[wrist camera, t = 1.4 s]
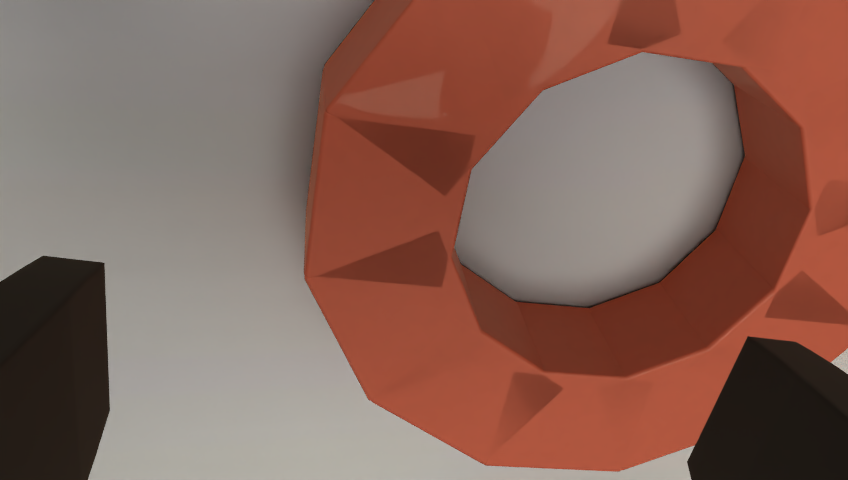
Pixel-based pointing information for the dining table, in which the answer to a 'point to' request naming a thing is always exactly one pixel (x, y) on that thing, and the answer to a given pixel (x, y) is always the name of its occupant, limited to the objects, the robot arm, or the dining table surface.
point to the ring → (551, 324)
